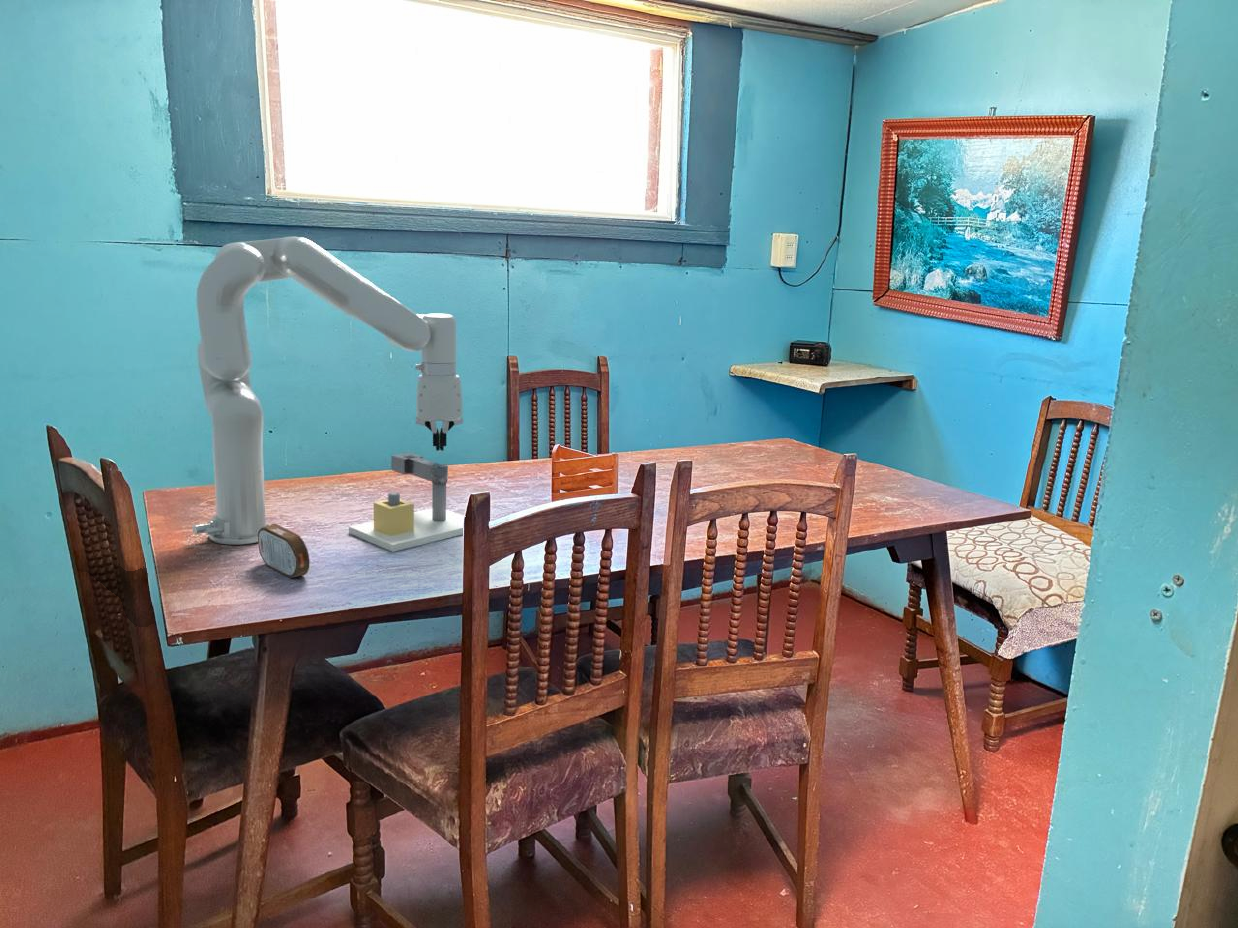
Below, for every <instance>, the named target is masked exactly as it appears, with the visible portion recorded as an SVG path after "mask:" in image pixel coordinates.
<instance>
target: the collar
mask: <svg viewBox="0 0 1238 928" xmlns="http://www.w3.org/2000/svg"><path fill="white" fill-rule="evenodd" d="M414 506H415V505H414V503H412V502H411V501H410V502H409V501H407V500H405V499H402V498H400V505H396V506H389V505H388V499H383V500H379V501H378V500H377V501H374V502H373V521H374V529H375V530H377V531H379V532H382V533H384V534H387V535H389V536H392V535H396V534H401V533H405V532H409V531H414V512H415V508H414Z"/></svg>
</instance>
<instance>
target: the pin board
mask: <svg viewBox="0 0 1238 928" xmlns="http://www.w3.org/2000/svg"><path fill="white" fill-rule="evenodd" d="M431 483H432V482H431ZM431 486H432V488H431V489H432V496H431V497H432V500H431V501H432V505H431V506H432V507H431V508H426V509H421V510H417V511H414V531H409V532H405V533H401V534H396V535H392V536H389V535H387V534H384V533H382V532H379V531H377V530H375V529H374V520H372V521H366V522H363V523H358V524H354V525H353V524H352V525H349V526H348V533H349V534H350V535H352V536H355V537H357V538H359V539H363V541H365V542H366V541H367V542H369V543H371V544H373V545H376V546H378V547H380V548H383V549H385V550H387V551H389V552H392V553H394V552H397V551H402V550H406V549H409V548H414V547H418V546H422V545H425V544H431V543H434V542H438V541H442V540H445V539H449V538H454V537H458V536H461V535H464V534H463V522H464V515H463V514H460V513H458V512H454V511H452V510H448V509H447V483H444V484H435V483H432V485H431ZM387 498H388V499H387V500H388V505H389V506H396V505H400V499H401V494H400V493H399V492H389V493H388V494H387ZM460 534H461V535H460ZM457 535H458V536H457ZM453 536H454V537H453Z"/></svg>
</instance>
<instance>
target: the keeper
mask: <svg viewBox="0 0 1238 928" xmlns="http://www.w3.org/2000/svg"><path fill="white" fill-rule="evenodd" d="M390 457H391V460H390V461H391V470H390V471H393V472H396V473H399V474H401V475H404V476H405V475H412V476H414V477H418V478H421V479H423V480H426V481H429V482H431V483H435V484H444V483H446V484H447V483H448V481H449V479H448V478H449V475H448V471H449V470H448V469H449V468H448V467H449V466H448V465H446V464H440V463H436V462H434V461H430V460H429V459H428V460H427V459H424V458H423V456H422V455H419V454H415V453H412V452H405V453H404V452H403V453H399V454H398V453H397V454H392V455H391V456H390Z"/></svg>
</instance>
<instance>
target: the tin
mask: <svg viewBox="0 0 1238 928" xmlns="http://www.w3.org/2000/svg"><path fill="white" fill-rule="evenodd" d="M268 525H269V526H266V527H263V528H261V529H260V530H259V532H258V542H257V543H258V552H259V554H260V557H261V559H262V561H263V563H264V564H265V565H266V566H267V567H269V568H270V569H272V570H274V571H276V572H278V573H280V575H281V574H282V575H284V576H286V577H287V578H289V579H295V578H298V577H301V576H306V575H307V574H308V572H309V569H310V565H311V564H310V561H311V560H310V556H309V554H310V553H309V551H308V548H307V545H306V543H305V542H304V540H303V538H302V537H301V536H300V534H297V533H296V532H294V531H292V530H289V529H288V528H285V527H283V526H281V525H279V524H278V523H271V524H268Z"/></svg>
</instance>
